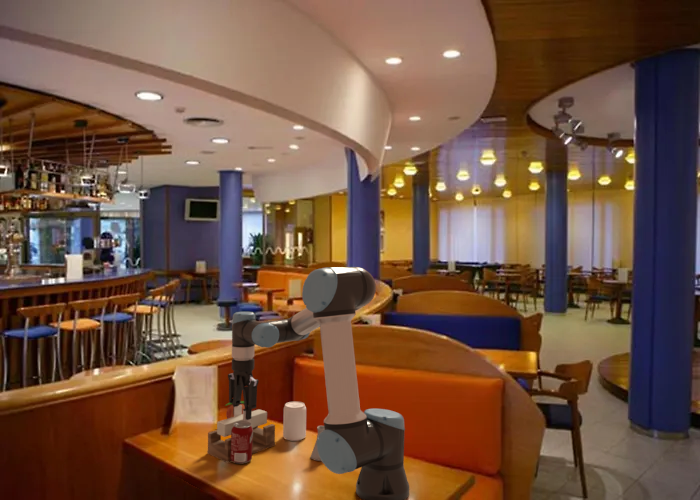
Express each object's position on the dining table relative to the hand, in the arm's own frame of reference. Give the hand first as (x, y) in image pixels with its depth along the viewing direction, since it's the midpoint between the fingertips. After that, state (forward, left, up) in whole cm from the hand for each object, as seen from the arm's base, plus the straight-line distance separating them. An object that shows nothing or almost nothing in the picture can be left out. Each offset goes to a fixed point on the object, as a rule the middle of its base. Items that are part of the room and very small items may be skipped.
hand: (242, 426), depth 187 cm
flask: (-24, -13, -8) cm, 29 cm away
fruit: (+20, -14, -8) cm, 26 cm away
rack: (0, 0, -8) cm, 8 cm away
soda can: (-7, +6, -8) cm, 13 cm away
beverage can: (-5, -20, -8) cm, 22 cm away
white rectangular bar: (0, 0, -1) cm, 1 cm away
